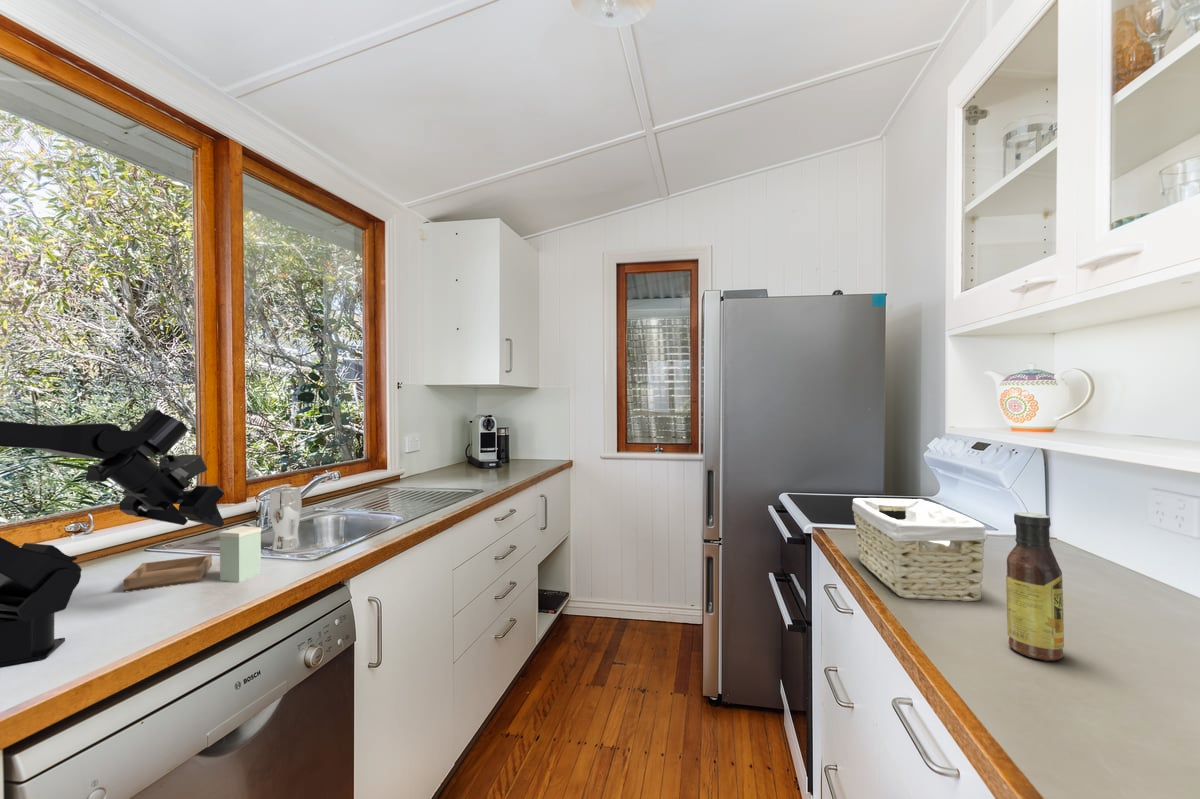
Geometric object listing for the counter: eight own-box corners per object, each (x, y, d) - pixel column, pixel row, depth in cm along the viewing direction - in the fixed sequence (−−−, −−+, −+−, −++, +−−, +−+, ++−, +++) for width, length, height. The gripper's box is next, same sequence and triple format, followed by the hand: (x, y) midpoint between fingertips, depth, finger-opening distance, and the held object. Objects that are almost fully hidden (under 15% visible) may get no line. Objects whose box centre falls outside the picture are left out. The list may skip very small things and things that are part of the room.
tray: (200, 581, 105) (200, 570, 105) (123, 592, 99) (123, 580, 99) (211, 565, 115) (211, 554, 115) (142, 574, 109) (142, 563, 109)
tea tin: (239, 582, 104) (238, 533, 104) (219, 580, 105) (219, 532, 105) (261, 574, 109) (261, 527, 109) (242, 572, 110) (242, 526, 110)
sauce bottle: (1069, 667, 69) (1067, 522, 69) (1010, 656, 72) (1009, 516, 72) (1058, 647, 74) (1056, 513, 74) (1004, 637, 78) (1002, 508, 78)
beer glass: (286, 552, 125) (286, 492, 125) (262, 551, 126) (262, 491, 126) (308, 544, 132) (308, 487, 132) (285, 543, 133) (285, 486, 133)
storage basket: (992, 606, 90) (991, 523, 90) (894, 601, 92) (894, 521, 92) (926, 563, 113) (925, 498, 113) (849, 561, 116) (849, 496, 116)
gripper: (213, 442, 92) (267, 492, 103) (137, 441, 97) (196, 488, 107) (168, 493, 85) (230, 541, 95) (87, 489, 89) (155, 535, 100)
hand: (203, 524), depth 100 cm, fingers open, 9 cm apart
